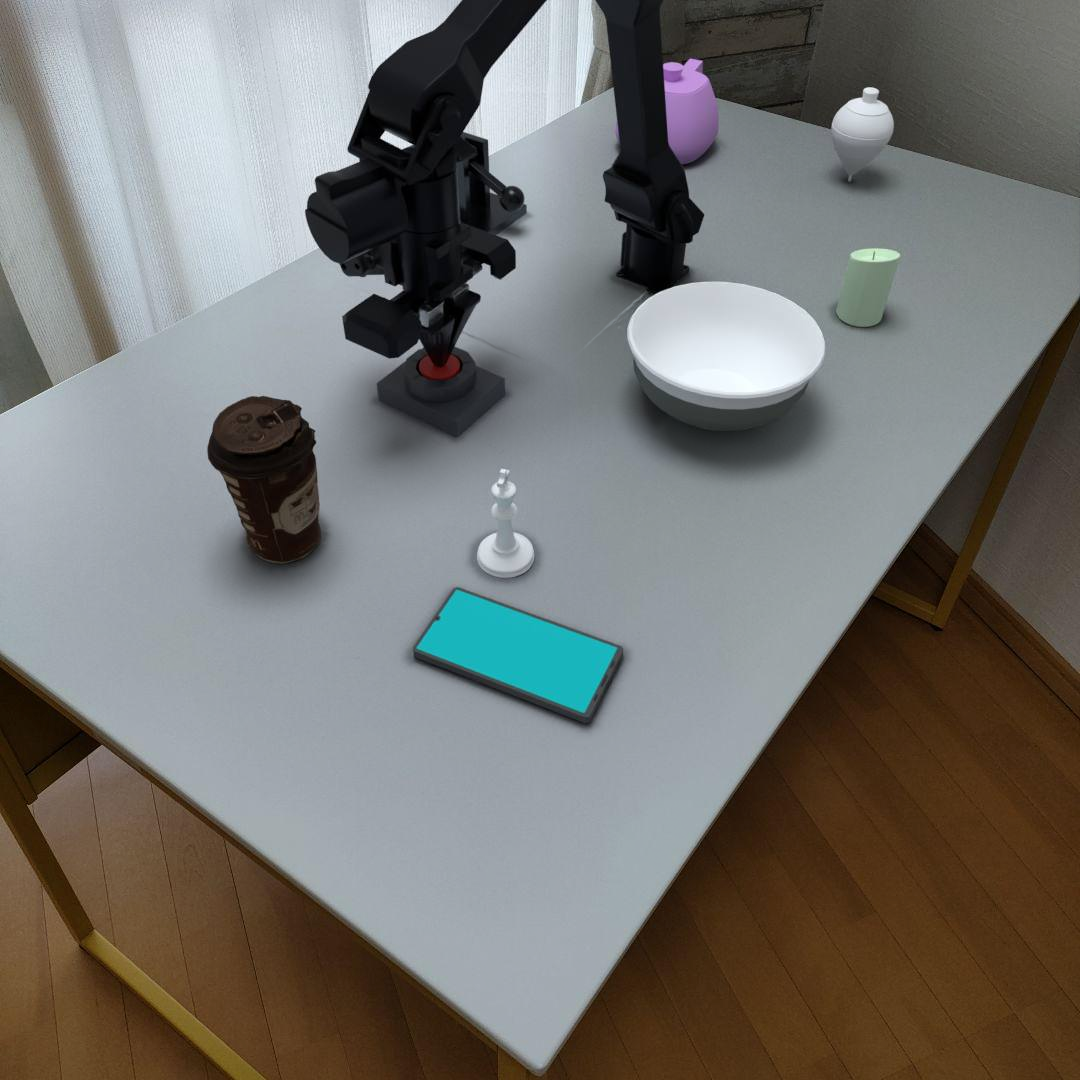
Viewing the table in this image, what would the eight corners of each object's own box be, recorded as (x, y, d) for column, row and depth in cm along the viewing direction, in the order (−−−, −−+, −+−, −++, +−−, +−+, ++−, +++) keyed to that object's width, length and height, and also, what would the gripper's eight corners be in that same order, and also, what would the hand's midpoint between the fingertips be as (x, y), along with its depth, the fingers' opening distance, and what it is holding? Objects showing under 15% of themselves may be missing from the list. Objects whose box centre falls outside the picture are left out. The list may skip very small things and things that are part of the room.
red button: (468, 375, 99) (468, 361, 98) (443, 396, 97) (442, 382, 95) (437, 362, 101) (436, 347, 99) (412, 382, 98) (410, 367, 97)
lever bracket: (527, 215, 126) (526, 139, 119) (479, 249, 120) (476, 172, 113) (452, 189, 130) (447, 115, 123) (402, 221, 125) (394, 145, 118)
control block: (505, 395, 101) (504, 363, 98) (457, 437, 96) (454, 405, 93) (428, 361, 105) (425, 329, 102) (378, 400, 100) (373, 368, 97)
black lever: (524, 210, 121) (532, 192, 118) (510, 221, 119) (518, 202, 117) (457, 155, 122) (464, 135, 119) (442, 164, 120) (448, 144, 117)
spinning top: (834, 162, 136) (855, 72, 127) (887, 178, 133) (912, 86, 124) (810, 184, 132) (829, 92, 123) (864, 200, 129) (888, 107, 120)
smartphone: (588, 718, 73) (411, 649, 77) (588, 725, 74) (412, 656, 78) (625, 646, 78) (455, 585, 82) (624, 652, 78) (456, 591, 83)
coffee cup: (347, 508, 89) (325, 393, 80) (325, 577, 84) (298, 462, 74) (253, 501, 90) (220, 386, 81) (224, 569, 84) (184, 454, 75)
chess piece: (542, 543, 87) (543, 458, 79) (523, 584, 83) (522, 498, 76) (489, 530, 88) (485, 444, 80) (468, 569, 84) (462, 484, 77)
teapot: (586, 166, 135) (589, 83, 127) (651, 112, 147) (658, 32, 139) (676, 190, 130) (685, 105, 122) (735, 132, 142) (747, 51, 134)
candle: (827, 306, 112) (843, 240, 106) (866, 299, 113) (884, 233, 107) (850, 331, 109) (868, 264, 103) (890, 323, 110) (910, 256, 104)
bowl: (830, 460, 94) (850, 391, 88) (634, 469, 93) (641, 399, 87) (783, 344, 107) (798, 277, 101) (611, 350, 106) (615, 283, 100)
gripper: (422, 152, 95) (434, 294, 106) (282, 235, 84) (312, 383, 95) (518, 184, 90) (520, 329, 102) (383, 276, 80) (402, 426, 91)
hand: (439, 364), depth 97 cm, fingers closed, pressing on red button
